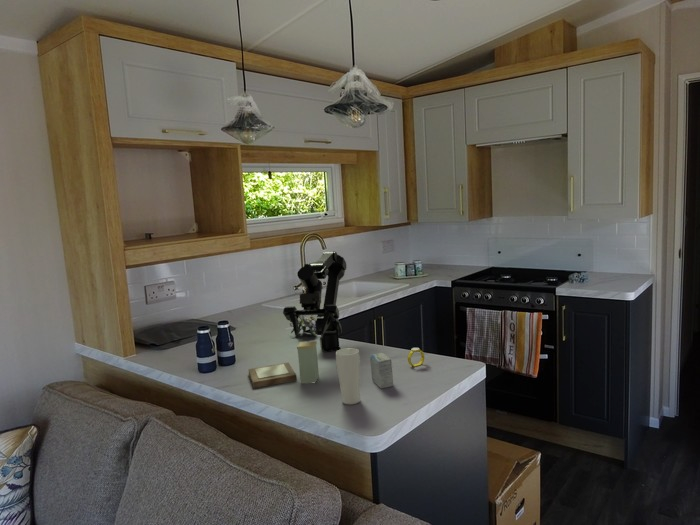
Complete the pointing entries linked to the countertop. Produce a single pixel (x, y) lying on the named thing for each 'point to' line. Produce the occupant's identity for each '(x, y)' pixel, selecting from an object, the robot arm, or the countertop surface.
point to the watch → (411, 355)
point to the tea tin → (308, 361)
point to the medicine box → (381, 370)
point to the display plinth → (272, 375)
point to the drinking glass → (349, 374)
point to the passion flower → (306, 324)
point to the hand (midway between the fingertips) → (309, 335)
